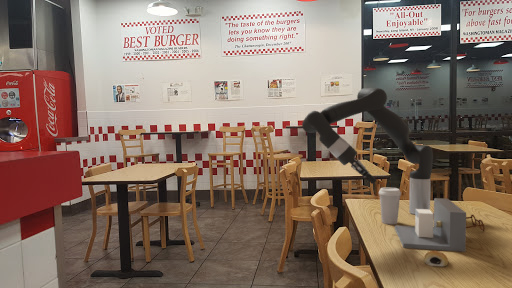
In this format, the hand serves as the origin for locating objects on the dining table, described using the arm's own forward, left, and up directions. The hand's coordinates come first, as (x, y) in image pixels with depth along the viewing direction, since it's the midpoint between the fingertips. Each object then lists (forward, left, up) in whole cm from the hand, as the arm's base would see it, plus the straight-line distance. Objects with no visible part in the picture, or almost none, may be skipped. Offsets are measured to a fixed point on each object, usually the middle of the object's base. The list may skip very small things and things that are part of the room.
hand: (374, 182), depth 147 cm
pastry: (+26, +17, -22) cm, 38 cm away
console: (+2, +19, -21) cm, 29 cm away
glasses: (-18, +37, -22) cm, 46 cm away
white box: (+2, +18, -19) cm, 27 cm away
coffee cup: (-20, +8, -21) cm, 30 cm away
